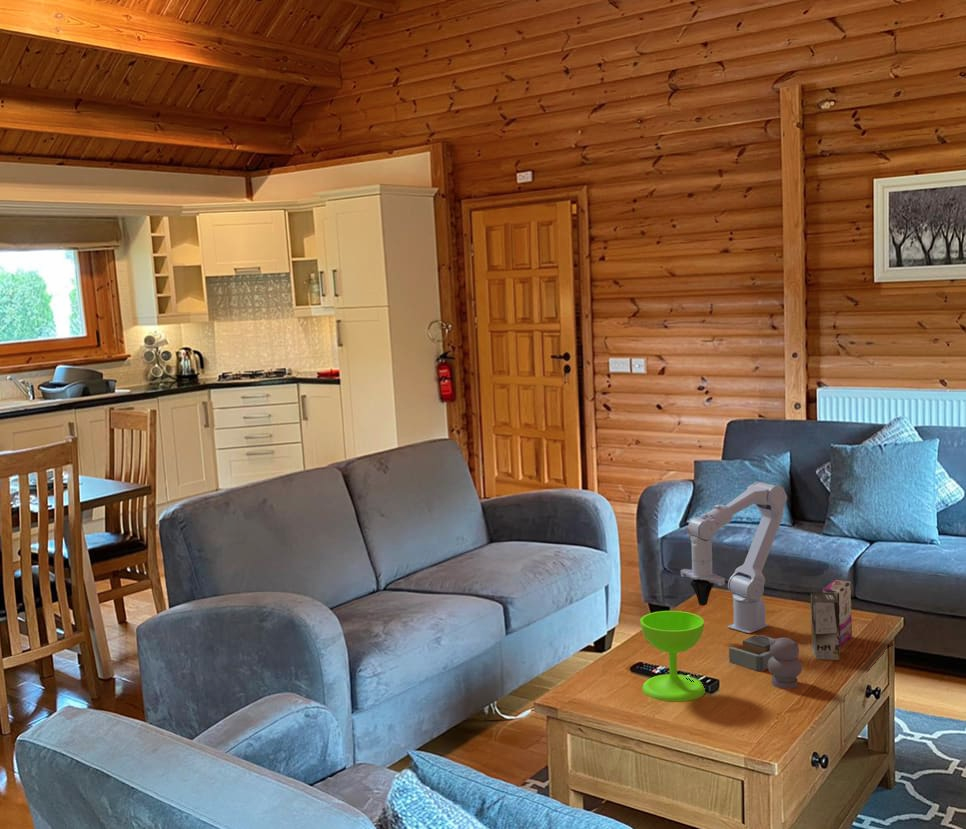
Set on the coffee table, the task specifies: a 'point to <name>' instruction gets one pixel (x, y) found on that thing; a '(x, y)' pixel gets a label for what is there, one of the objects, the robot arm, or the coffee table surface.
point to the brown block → (756, 645)
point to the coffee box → (825, 625)
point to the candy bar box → (842, 607)
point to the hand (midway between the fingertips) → (703, 604)
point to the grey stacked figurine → (784, 663)
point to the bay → (750, 658)
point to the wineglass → (672, 653)
